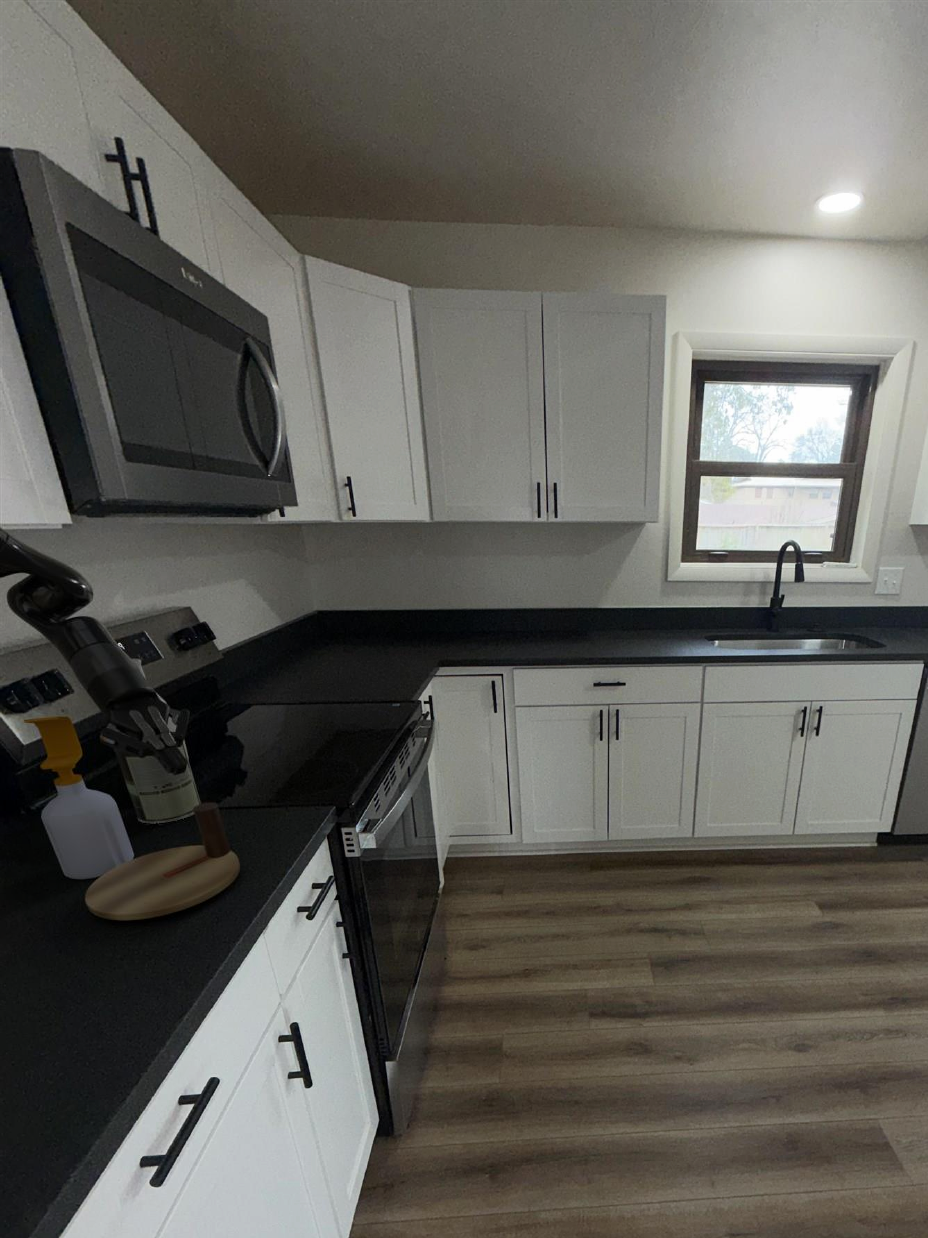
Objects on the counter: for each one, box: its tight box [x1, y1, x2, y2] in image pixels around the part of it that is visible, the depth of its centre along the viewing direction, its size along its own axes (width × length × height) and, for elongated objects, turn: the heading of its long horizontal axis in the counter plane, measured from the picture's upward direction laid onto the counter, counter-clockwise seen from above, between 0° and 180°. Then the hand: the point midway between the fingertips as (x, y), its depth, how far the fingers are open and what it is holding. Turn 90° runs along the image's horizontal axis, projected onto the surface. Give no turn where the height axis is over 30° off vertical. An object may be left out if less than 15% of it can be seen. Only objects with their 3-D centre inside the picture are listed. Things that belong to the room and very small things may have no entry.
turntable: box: [84, 801, 241, 921], centre depth 92 cm, size 19×19×9 cm
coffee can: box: [112, 731, 202, 825], centre depth 115 cm, size 10×10×14 cm
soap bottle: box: [23, 716, 135, 880], centre depth 95 cm, size 9×9×25 cm
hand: (180, 771), depth 97 cm, fingers closed
